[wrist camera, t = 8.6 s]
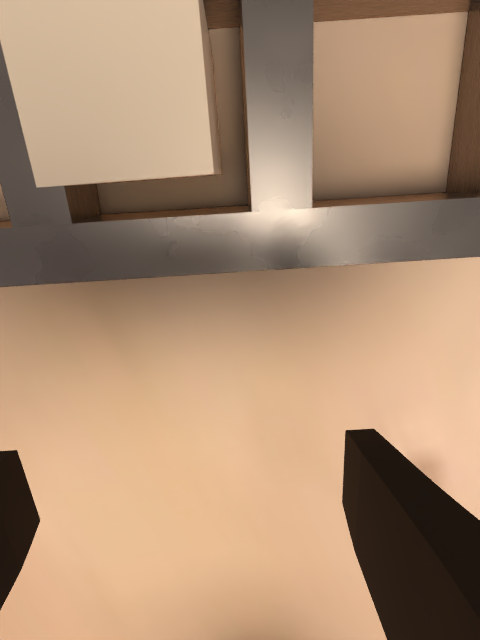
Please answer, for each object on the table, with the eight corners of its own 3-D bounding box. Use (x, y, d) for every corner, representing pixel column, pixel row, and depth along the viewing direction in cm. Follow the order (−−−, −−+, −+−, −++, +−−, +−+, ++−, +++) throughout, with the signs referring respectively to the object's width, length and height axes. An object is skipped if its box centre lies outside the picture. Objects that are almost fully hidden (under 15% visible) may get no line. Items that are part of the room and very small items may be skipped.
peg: (121, 182, 15) (36, 187, 9) (101, 64, 14) (-20, -38, 7) (222, 174, 15) (214, 173, 9) (212, 55, 14) (193, -56, 7)
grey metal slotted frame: (-123, 278, 16) (-197, 299, 13) (-243, -14, 13) (-379, -67, 10) (487, 239, 16) (540, 252, 13) (539, -68, 13) (627, -138, 10)
